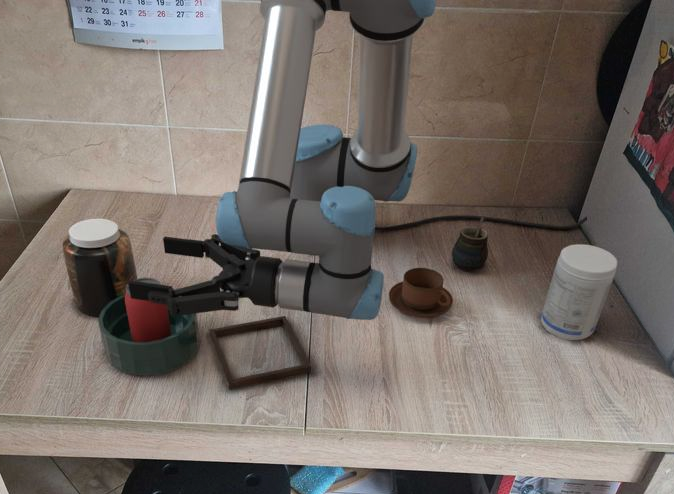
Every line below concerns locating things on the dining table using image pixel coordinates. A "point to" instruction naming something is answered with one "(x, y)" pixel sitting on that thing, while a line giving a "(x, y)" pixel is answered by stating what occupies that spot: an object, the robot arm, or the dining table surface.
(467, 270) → the mate gourd
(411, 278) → the cup and saucer
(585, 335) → the supplement tub
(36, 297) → the dining table surface
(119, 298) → the green bowl
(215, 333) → the brown square frame
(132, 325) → the beer can
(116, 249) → the jar
